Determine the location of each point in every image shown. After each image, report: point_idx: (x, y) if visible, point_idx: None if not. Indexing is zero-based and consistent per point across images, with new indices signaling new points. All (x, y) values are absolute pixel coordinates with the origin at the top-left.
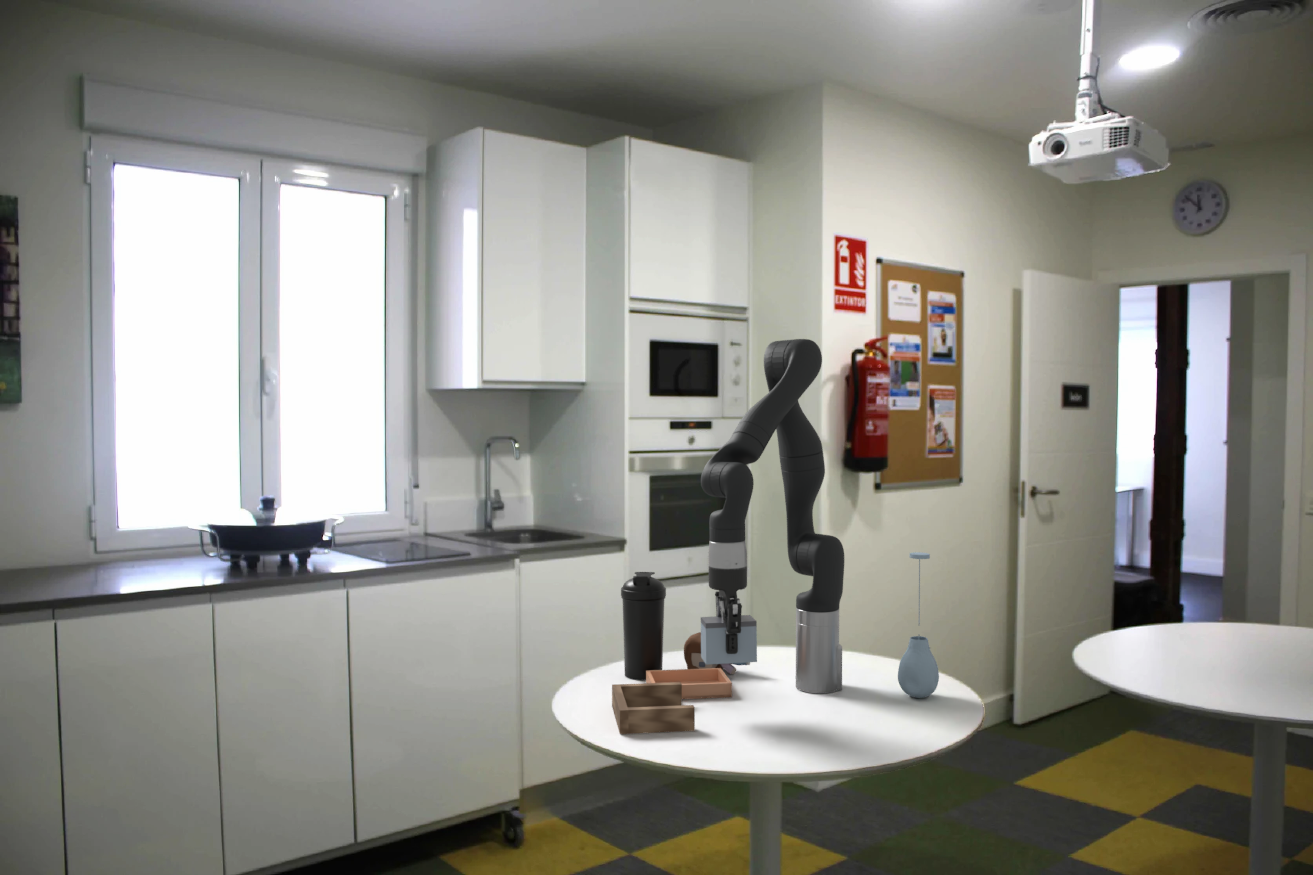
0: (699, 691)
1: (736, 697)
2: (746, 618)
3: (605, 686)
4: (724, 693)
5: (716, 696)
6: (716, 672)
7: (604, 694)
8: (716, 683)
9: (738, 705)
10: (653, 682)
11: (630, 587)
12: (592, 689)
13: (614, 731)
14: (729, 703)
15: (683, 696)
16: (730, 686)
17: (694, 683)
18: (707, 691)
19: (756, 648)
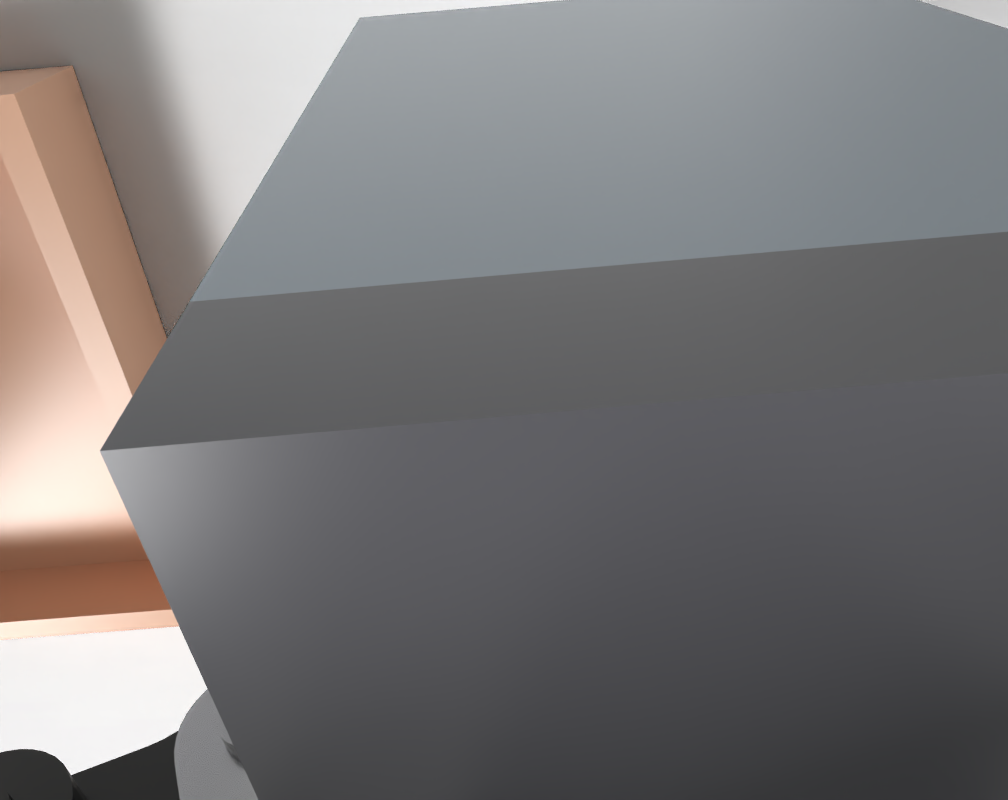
0: (141, 340)
1: (61, 22)
2: (945, 657)
3: (24, 730)
4: (80, 140)
5: (112, 199)
6: None
7: (169, 729)
8: (62, 238)
9: (298, 38)
10: (138, 619)
11: None
12: (94, 766)
13: None
14: (249, 108)
15: None
16: (34, 101)
17: (107, 401)
18: (122, 284)
19: (956, 21)
